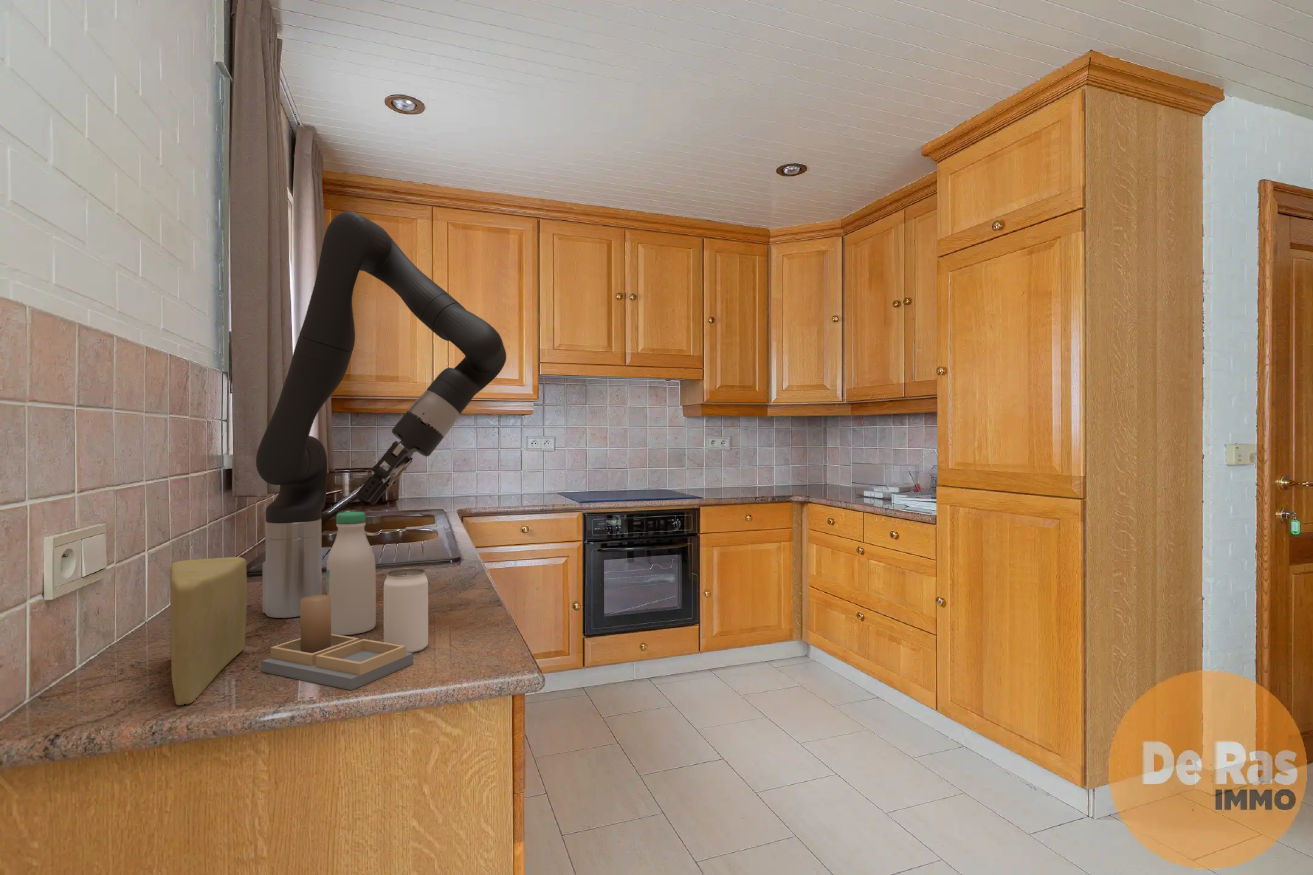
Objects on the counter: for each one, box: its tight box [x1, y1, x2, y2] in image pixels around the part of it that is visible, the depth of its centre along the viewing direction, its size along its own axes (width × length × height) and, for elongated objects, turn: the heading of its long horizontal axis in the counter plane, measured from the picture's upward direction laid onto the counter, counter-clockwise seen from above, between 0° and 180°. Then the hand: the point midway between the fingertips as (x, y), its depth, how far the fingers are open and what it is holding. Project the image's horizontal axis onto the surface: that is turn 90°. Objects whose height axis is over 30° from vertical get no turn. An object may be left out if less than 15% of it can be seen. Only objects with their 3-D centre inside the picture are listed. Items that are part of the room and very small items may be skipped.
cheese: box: [169, 556, 248, 706], centre depth 92 cm, size 22×10×15 cm, turn 27°
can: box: [383, 567, 429, 654], centre depth 105 cm, size 6×6×12 cm
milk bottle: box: [325, 511, 377, 636], centre depth 115 cm, size 8×8×20 cm
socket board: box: [260, 594, 414, 691], centre depth 96 cm, size 17×11×10 cm, turn 67°
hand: (364, 500), depth 111 cm, fingers open, 8 cm apart
